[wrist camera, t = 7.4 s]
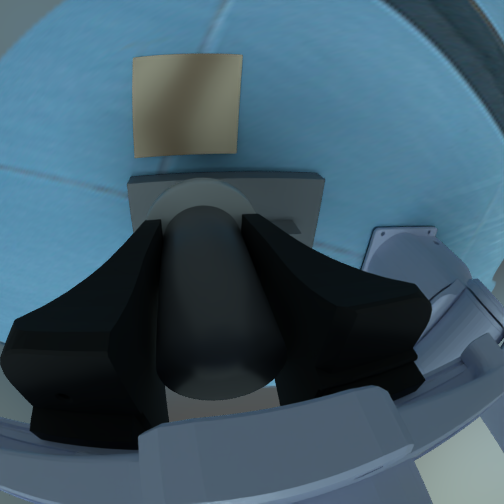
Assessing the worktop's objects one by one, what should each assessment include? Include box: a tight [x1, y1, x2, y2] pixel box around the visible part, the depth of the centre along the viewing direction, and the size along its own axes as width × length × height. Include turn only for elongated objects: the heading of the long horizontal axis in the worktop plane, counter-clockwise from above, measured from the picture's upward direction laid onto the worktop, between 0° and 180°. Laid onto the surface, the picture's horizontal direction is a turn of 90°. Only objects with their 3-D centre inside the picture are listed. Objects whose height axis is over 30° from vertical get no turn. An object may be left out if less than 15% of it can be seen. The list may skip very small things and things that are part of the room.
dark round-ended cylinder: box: [146, 178, 287, 400], centre depth 10 cm, size 5×5×9 cm
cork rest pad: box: [132, 54, 243, 158], centre depth 17 cm, size 7×7×1 cm
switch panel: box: [127, 171, 325, 248], centre depth 24 cm, size 14×20×4 cm
